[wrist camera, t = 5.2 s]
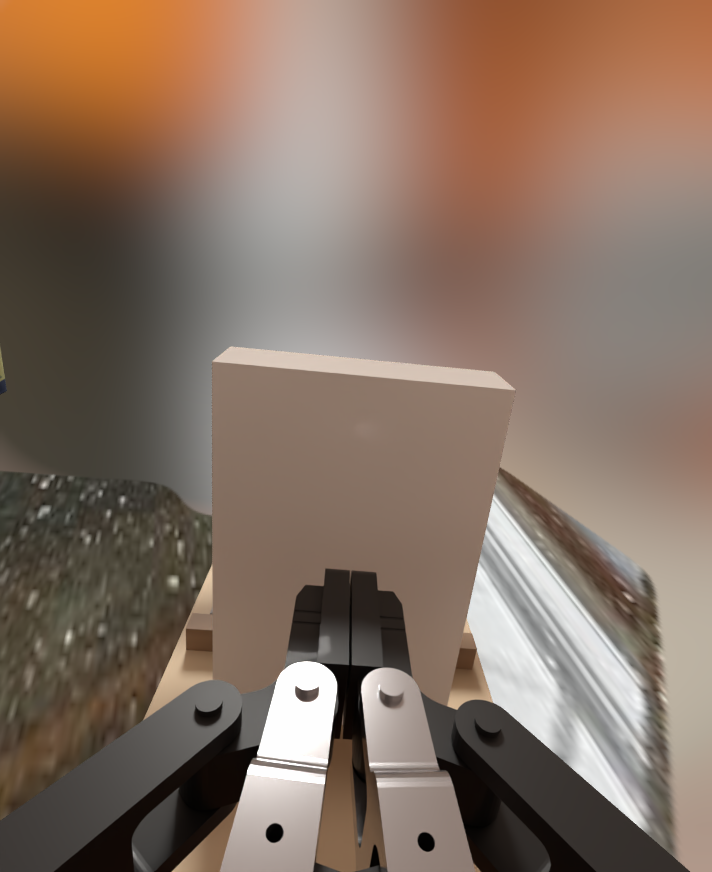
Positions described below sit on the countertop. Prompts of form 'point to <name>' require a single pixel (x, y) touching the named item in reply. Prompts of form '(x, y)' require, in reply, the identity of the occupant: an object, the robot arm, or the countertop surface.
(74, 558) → the countertop surface
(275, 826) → the robot arm
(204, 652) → the board
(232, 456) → the tile
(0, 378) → the protein box
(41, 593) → the countertop surface
